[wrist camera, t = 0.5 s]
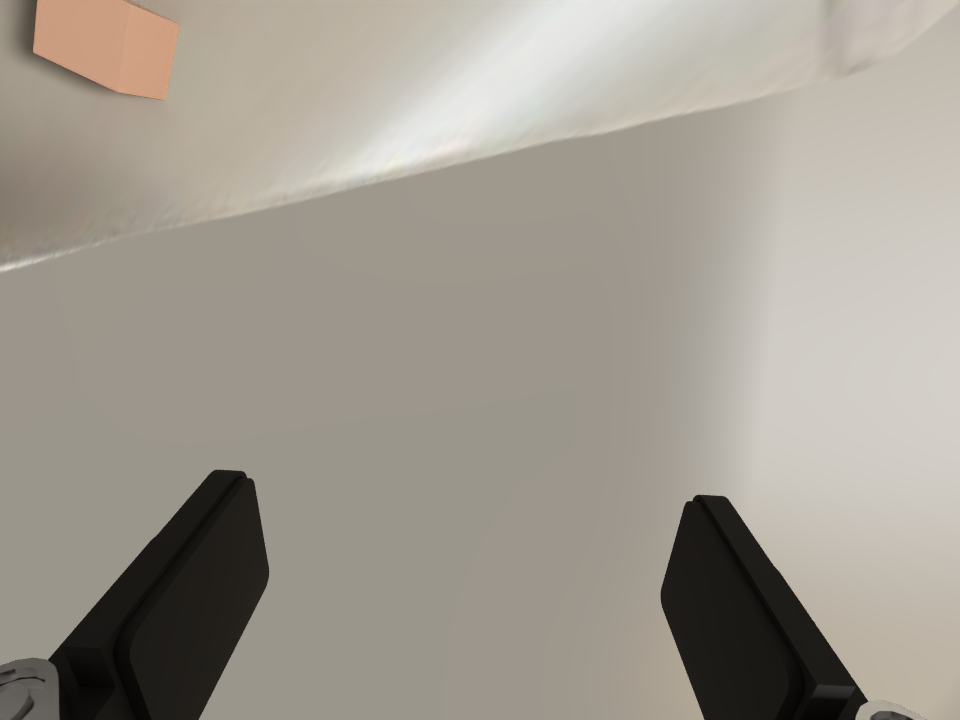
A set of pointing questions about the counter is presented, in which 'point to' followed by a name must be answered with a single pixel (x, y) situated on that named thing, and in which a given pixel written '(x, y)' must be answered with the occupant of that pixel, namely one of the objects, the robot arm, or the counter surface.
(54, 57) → the terracotta block
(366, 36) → the counter surface
